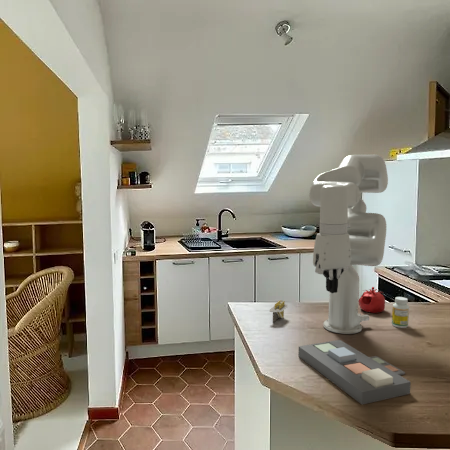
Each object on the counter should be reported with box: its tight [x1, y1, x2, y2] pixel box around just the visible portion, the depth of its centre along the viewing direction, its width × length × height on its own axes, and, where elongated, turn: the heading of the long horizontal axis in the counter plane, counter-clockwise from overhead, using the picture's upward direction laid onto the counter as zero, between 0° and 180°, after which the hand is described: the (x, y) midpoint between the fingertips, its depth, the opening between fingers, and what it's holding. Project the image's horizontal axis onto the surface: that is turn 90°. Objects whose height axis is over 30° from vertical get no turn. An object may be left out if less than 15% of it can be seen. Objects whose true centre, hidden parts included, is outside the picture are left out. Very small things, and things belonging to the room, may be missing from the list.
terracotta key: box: [344, 363, 371, 375], centre depth 113 cm, size 5×5×3 cm
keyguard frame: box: [297, 339, 411, 405], centre depth 116 cm, size 14×28×3 cm, turn 21°
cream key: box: [362, 368, 393, 388], centre depth 106 cm, size 5×5×3 cm
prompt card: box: [369, 355, 406, 376], centre depth 120 cm, size 5×11×1 cm, turn 21°
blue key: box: [328, 347, 355, 363], centre depth 119 cm, size 5×5×3 cm
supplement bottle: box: [391, 296, 410, 329], centre depth 152 cm, size 5×5×10 cm
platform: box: [269, 300, 288, 323], centre depth 157 cm, size 12×18×7 cm, turn 153°
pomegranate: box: [358, 286, 386, 314], centre depth 168 cm, size 10×10×9 cm
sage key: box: [314, 343, 336, 353], centre depth 126 cm, size 5×5×3 cm
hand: (331, 291), depth 127 cm, fingers closed
